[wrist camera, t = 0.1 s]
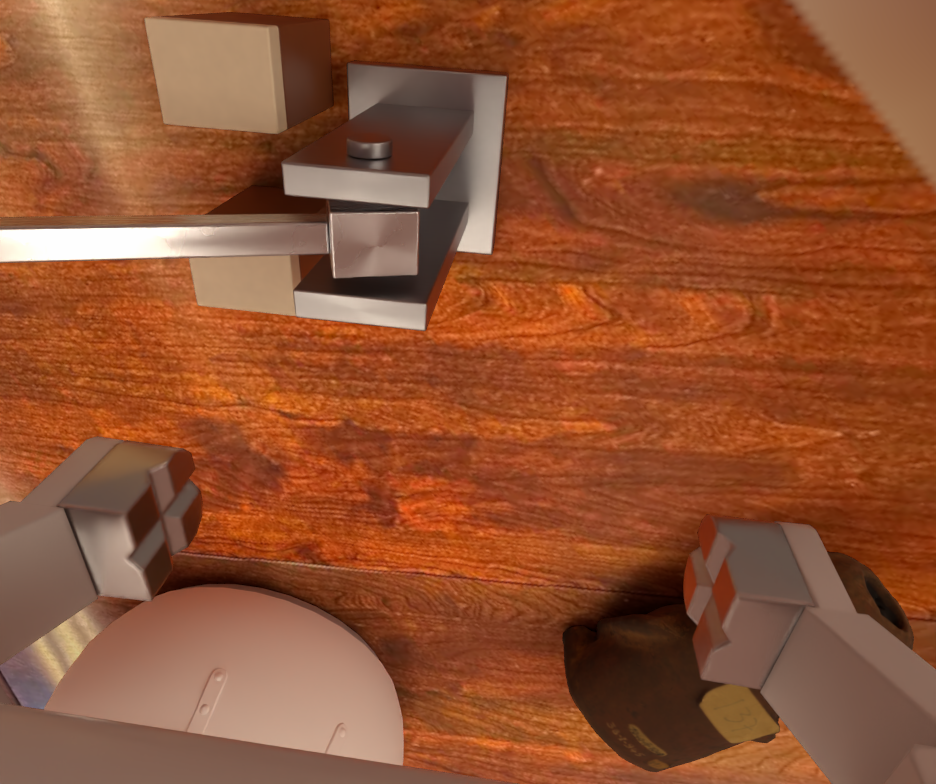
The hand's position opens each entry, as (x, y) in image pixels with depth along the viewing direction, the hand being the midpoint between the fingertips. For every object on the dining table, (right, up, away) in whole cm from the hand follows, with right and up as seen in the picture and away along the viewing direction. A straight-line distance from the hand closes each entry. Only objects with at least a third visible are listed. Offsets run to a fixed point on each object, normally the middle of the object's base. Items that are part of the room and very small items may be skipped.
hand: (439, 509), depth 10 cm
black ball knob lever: (-10, +7, +11) cm, 16 cm away
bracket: (-1, +13, +20) cm, 24 cm away
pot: (-17, -22, +44) cm, 52 cm away
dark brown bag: (+18, -14, +34) cm, 41 cm away
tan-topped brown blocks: (-8, +14, +21) cm, 26 cm away
